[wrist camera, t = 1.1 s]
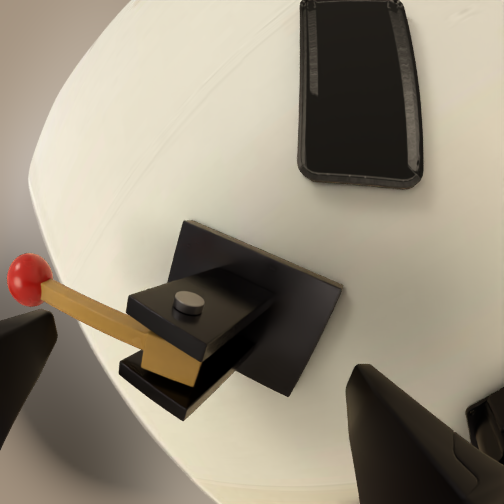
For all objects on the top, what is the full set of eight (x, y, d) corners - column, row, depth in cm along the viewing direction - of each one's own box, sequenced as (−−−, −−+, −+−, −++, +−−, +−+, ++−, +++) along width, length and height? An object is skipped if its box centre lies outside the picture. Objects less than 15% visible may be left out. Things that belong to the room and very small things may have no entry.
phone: (401, -4, 12) (423, 189, 15) (400, 5, 14) (419, 191, 16) (298, -4, 15) (294, 178, 18) (301, 4, 16) (298, 181, 19)
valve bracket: (166, 320, 24) (76, 361, 15) (192, 219, 22) (87, 224, 13) (292, 389, 20) (239, 479, 11) (344, 285, 18) (318, 348, 9)
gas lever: (29, 285, 16) (-1, 301, 13) (31, 241, 15) (-3, 253, 12) (202, 364, 16) (189, 399, 13) (216, 318, 15) (204, 350, 12)
